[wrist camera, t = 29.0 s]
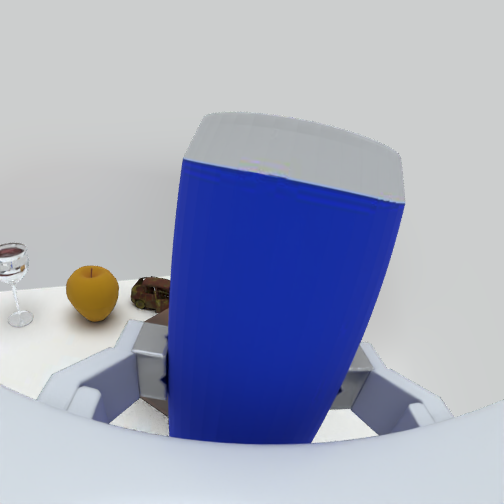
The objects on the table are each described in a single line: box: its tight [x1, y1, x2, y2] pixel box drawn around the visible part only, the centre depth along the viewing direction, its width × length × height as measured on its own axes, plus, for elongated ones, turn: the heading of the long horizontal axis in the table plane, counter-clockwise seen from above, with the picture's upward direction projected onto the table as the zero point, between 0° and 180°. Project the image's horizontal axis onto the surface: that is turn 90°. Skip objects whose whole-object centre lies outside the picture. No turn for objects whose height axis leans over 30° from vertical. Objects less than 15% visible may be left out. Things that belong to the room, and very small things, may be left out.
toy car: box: [131, 276, 170, 313], centre depth 50 cm, size 12×7×5 cm, turn 91°
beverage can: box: [168, 112, 405, 444], centre depth 9 cm, size 5×5×15 cm
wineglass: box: [0, 242, 33, 327], centre depth 34 cm, size 7×7×12 cm
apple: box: [66, 266, 119, 322], centre depth 41 cm, size 9×9×9 cm
